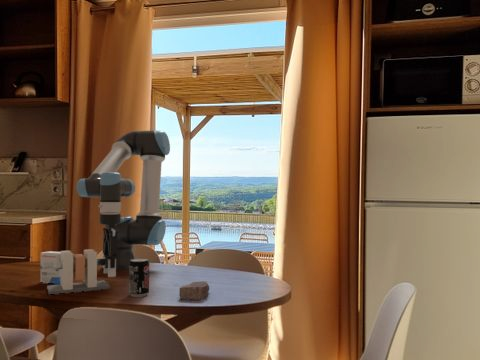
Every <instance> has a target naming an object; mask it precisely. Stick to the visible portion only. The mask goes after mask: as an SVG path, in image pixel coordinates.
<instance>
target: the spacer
mask: <svg viewBox="0 0 480 360" xmlns="http://www.w3.org/2000/svg"><path fill="white" fill-rule="evenodd" d="M73 261H75V268H73V280H75V281H81V280H82V281H84V278H85V257H84V254H82V253H76V254H75V253H73Z"/></svg>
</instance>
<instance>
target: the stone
mask: <svg viewBox="0 0 480 360" xmlns="http://www.w3.org/2000/svg"><path fill="white" fill-rule="evenodd" d="M209 291H210V285H209V283H208V281H205V280H204V281H193V282H191V283H189V284H184V285H182V286H179V295H178V296H179V298H180V299H182V300H193V301H202V300H203V299H204V298H205V297H206V296H207V295H208V294H209Z"/></svg>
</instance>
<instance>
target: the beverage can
mask: <svg viewBox="0 0 480 360" xmlns="http://www.w3.org/2000/svg"><path fill="white" fill-rule="evenodd" d="M128 271H129V272H128V276H129V277H128V294H129V295H130V297H131V298H133V297H134V298H142V297H146V296H148V294H149V293H150V262H149V259H148V258H141V257H139V258H135V259H131V260H130V264H129V269H128Z"/></svg>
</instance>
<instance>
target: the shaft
mask: <svg viewBox="0 0 480 360" xmlns="http://www.w3.org/2000/svg"><path fill="white" fill-rule="evenodd" d="M102 256H103V257H102V258H97V267H102V266H103V267H104V268H108V259H107V257H109V256H104V255H102ZM85 267H87V260H85ZM73 268H75V261H73ZM60 269H63V261H62V262H60Z"/></svg>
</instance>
